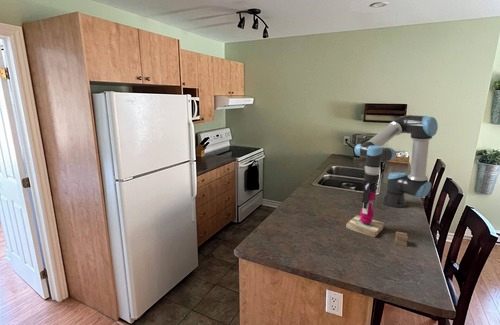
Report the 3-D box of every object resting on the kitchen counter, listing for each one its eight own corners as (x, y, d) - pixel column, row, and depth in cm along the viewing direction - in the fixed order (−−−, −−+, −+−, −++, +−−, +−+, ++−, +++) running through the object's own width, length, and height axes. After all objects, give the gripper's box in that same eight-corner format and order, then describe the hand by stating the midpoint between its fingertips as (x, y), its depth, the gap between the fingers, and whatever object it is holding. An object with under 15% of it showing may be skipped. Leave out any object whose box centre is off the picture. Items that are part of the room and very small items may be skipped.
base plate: (356, 219, 169) (357, 214, 169) (383, 227, 159) (384, 223, 158) (346, 227, 158) (346, 223, 157) (374, 237, 147) (375, 232, 147)
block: (394, 239, 146) (396, 231, 144) (405, 241, 144) (406, 233, 143) (395, 244, 141) (397, 235, 140) (406, 246, 139) (408, 237, 138)
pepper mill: (364, 224, 153) (368, 191, 148) (356, 219, 160) (360, 187, 155) (375, 223, 155) (379, 190, 150) (367, 217, 162) (371, 186, 157)
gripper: (371, 169, 160) (366, 205, 165) (358, 175, 146) (354, 214, 151) (384, 171, 155) (379, 208, 160) (372, 178, 141) (367, 218, 146)
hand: (367, 211), depth 156 cm, fingers closed on pepper mill, 6 cm apart
